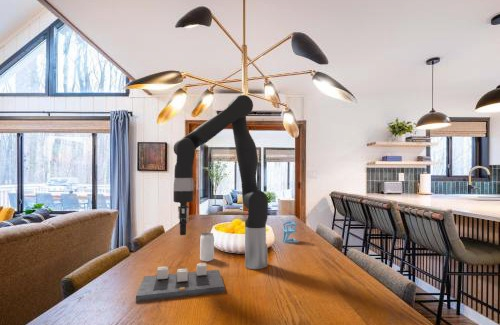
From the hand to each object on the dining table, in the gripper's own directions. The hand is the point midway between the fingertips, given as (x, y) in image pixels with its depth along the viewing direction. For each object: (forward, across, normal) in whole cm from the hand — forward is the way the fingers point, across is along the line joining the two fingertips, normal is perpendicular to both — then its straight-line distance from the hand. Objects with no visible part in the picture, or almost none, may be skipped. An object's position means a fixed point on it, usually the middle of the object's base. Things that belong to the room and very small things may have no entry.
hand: (183, 232), depth 99 cm
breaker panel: (+18, -7, 0) cm, 19 cm away
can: (+18, +21, -11) cm, 30 cm away
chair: (+18, +42, -62) cm, 77 cm away
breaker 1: (+15, -3, +7) cm, 17 cm away
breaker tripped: (+15, -7, 0) cm, 17 cm away
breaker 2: (+15, -3, -7) cm, 17 cm away
